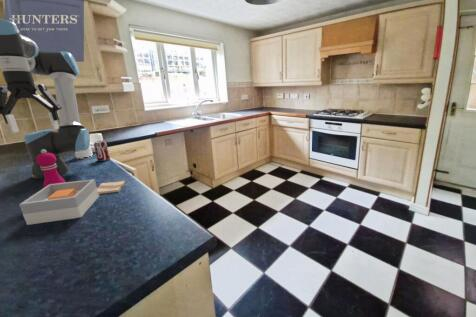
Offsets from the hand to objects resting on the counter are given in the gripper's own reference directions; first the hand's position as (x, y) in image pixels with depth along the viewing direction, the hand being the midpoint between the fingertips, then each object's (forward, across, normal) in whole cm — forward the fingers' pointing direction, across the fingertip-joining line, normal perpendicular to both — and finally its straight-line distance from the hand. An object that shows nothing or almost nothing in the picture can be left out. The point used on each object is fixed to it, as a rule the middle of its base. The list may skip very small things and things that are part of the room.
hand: (36, 130), depth 84 cm
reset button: (+26, +10, -14) cm, 31 cm away
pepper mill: (+28, 0, 0) cm, 28 cm away
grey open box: (+28, +10, -14) cm, 32 cm away
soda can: (+27, +1, +50) cm, 57 cm away
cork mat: (+28, +20, +1) cm, 34 cm away
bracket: (+27, -14, +72) cm, 79 cm away
